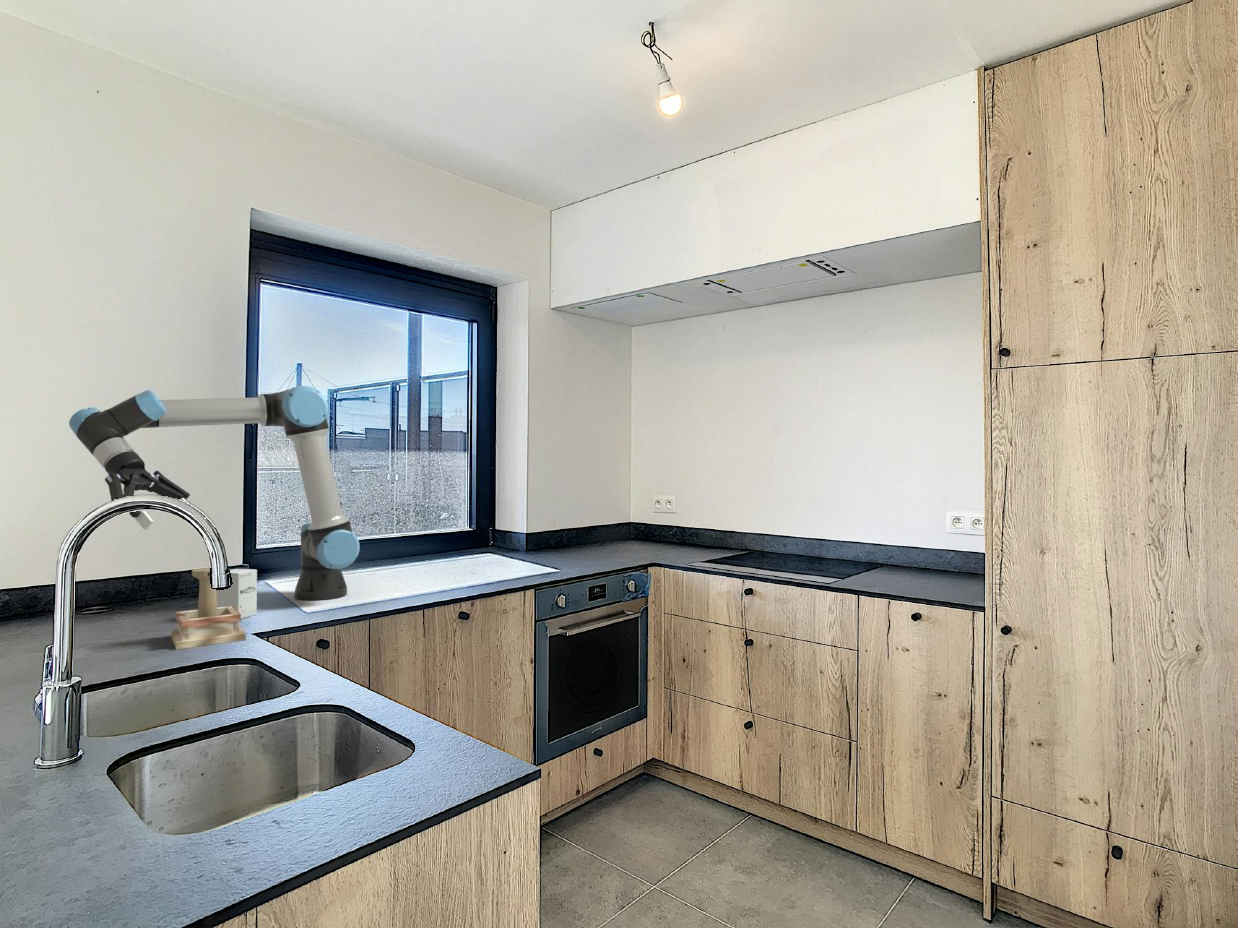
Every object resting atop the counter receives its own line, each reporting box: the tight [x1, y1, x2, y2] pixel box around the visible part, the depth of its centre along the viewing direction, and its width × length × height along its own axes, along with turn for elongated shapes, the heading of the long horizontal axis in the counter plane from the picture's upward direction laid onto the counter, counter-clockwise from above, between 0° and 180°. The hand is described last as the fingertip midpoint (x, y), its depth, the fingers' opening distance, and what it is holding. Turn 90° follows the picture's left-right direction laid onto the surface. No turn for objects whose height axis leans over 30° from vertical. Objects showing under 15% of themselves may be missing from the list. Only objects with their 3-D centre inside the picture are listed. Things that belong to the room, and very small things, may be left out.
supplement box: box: [216, 568, 258, 620], centre depth 188 cm, size 7×7×13 cm
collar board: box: [170, 606, 247, 650], centre depth 166 cm, size 14×14×6 cm
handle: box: [191, 567, 217, 618], centre depth 166 cm, size 5×6×15 cm
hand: (173, 522), depth 167 cm, fingers open, 13 cm apart
